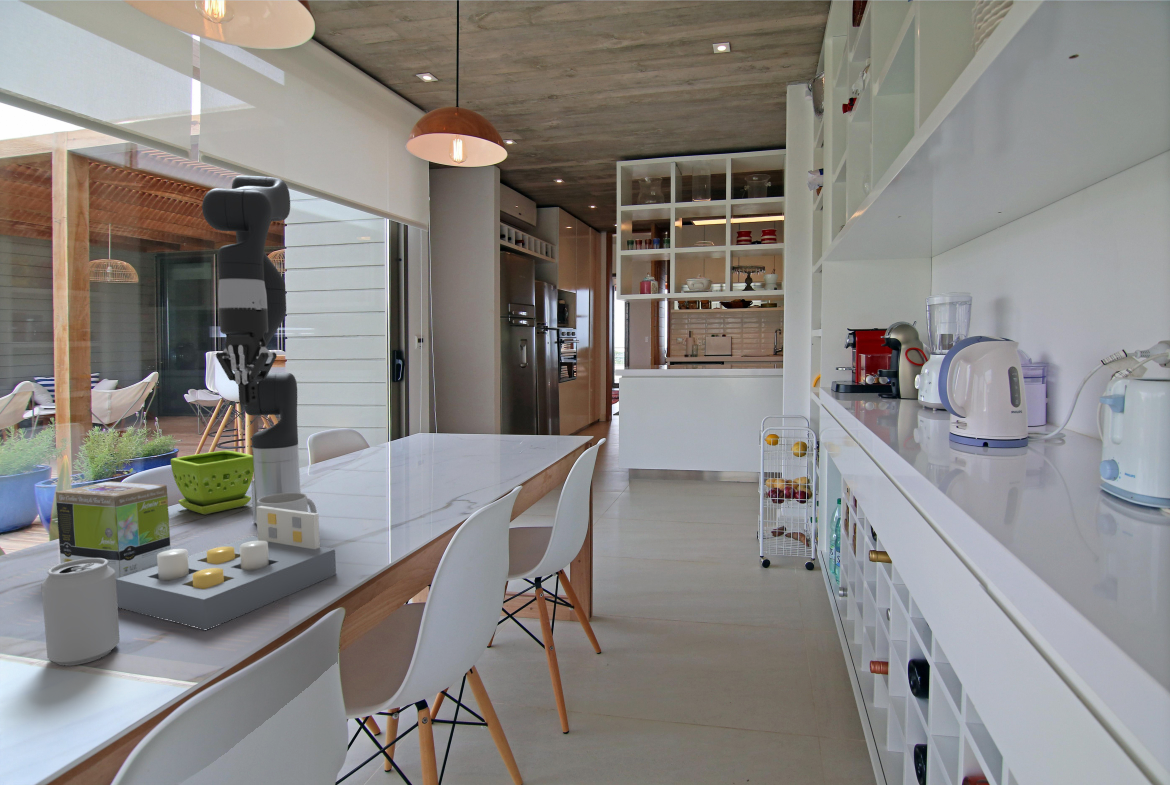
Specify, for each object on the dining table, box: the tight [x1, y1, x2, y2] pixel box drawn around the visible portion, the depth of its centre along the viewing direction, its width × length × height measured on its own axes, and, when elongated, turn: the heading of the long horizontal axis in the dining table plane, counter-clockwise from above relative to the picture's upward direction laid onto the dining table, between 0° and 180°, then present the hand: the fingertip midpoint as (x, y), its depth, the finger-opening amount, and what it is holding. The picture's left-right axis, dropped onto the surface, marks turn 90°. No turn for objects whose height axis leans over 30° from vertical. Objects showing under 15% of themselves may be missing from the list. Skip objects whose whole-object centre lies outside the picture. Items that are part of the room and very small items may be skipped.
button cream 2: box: [240, 540, 269, 571], centre depth 106 cm, size 4×4×5 cm
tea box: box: [55, 481, 172, 579], centre depth 118 cm, size 15×10×15 cm, turn 71°
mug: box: [257, 492, 318, 514], centre depth 129 cm, size 11×10×10 cm
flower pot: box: [170, 450, 254, 516], centre depth 160 cm, size 14×14×13 cm
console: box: [116, 506, 337, 630], centre depth 107 cm, size 20×24×10 cm
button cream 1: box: [157, 548, 189, 581], centre depth 102 cm, size 4×4×5 cm
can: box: [41, 558, 120, 667], centre depth 85 cm, size 8×8×12 cm
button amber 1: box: [207, 546, 235, 565], centre depth 110 cm, size 4×4×5 cm
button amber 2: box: [193, 568, 224, 589], centre depth 99 cm, size 4×4×5 cm
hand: (248, 405), depth 117 cm, fingers closed
